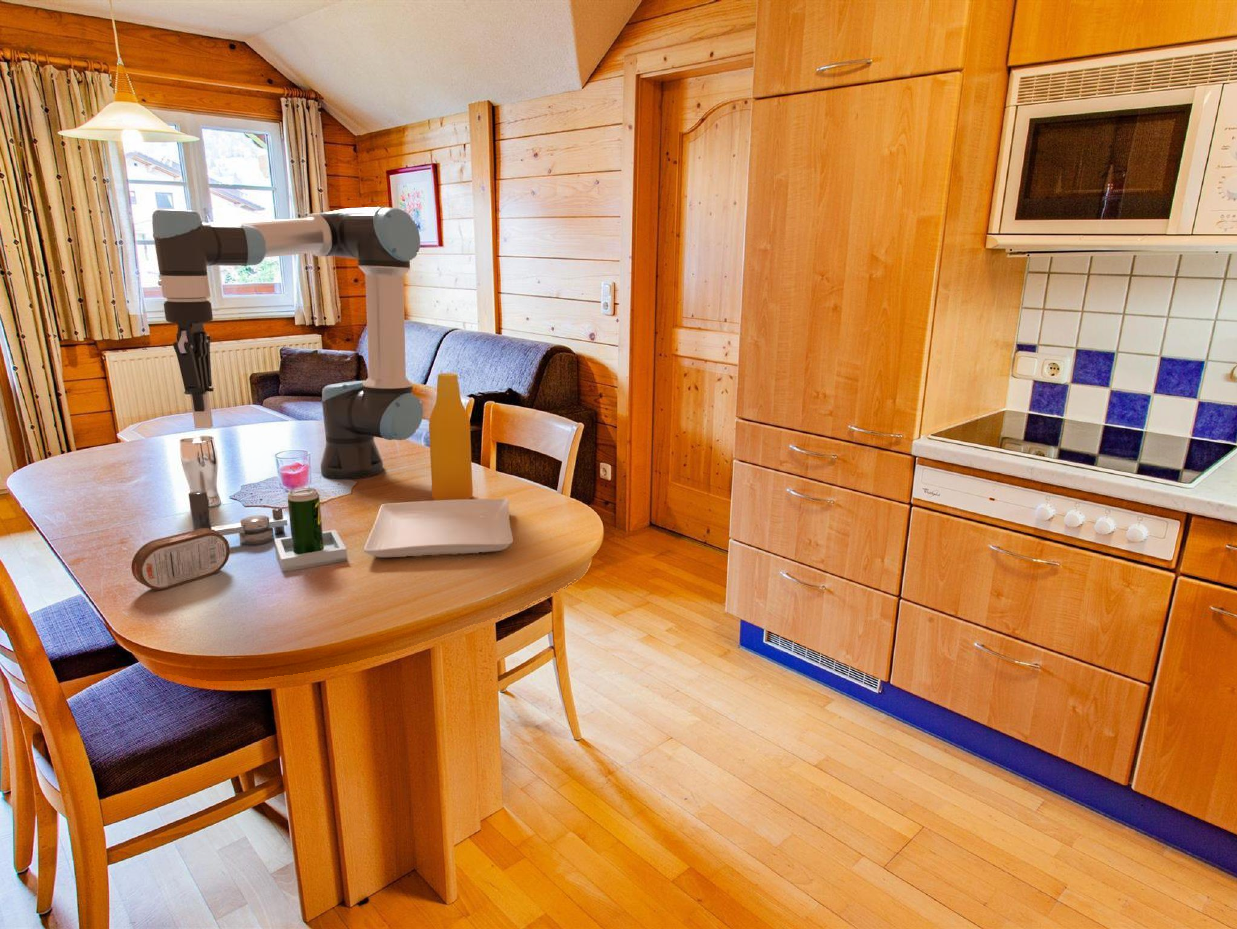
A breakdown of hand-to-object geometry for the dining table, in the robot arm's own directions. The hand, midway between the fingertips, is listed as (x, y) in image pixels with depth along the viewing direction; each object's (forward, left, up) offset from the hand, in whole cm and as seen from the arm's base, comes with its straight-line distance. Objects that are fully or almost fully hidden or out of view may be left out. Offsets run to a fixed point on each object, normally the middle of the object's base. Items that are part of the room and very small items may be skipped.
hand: (204, 427), depth 142 cm
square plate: (-40, +18, -23) cm, 49 cm away
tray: (-14, +18, -22) cm, 32 cm away
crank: (-4, +5, -20) cm, 21 cm away
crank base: (-2, +5, -22) cm, 23 cm away
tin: (+6, +20, -23) cm, 30 cm away
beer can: (-14, +17, -22) cm, 31 cm away
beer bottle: (-48, -4, -23) cm, 54 cm away
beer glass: (+2, -24, -23) cm, 33 cm away
